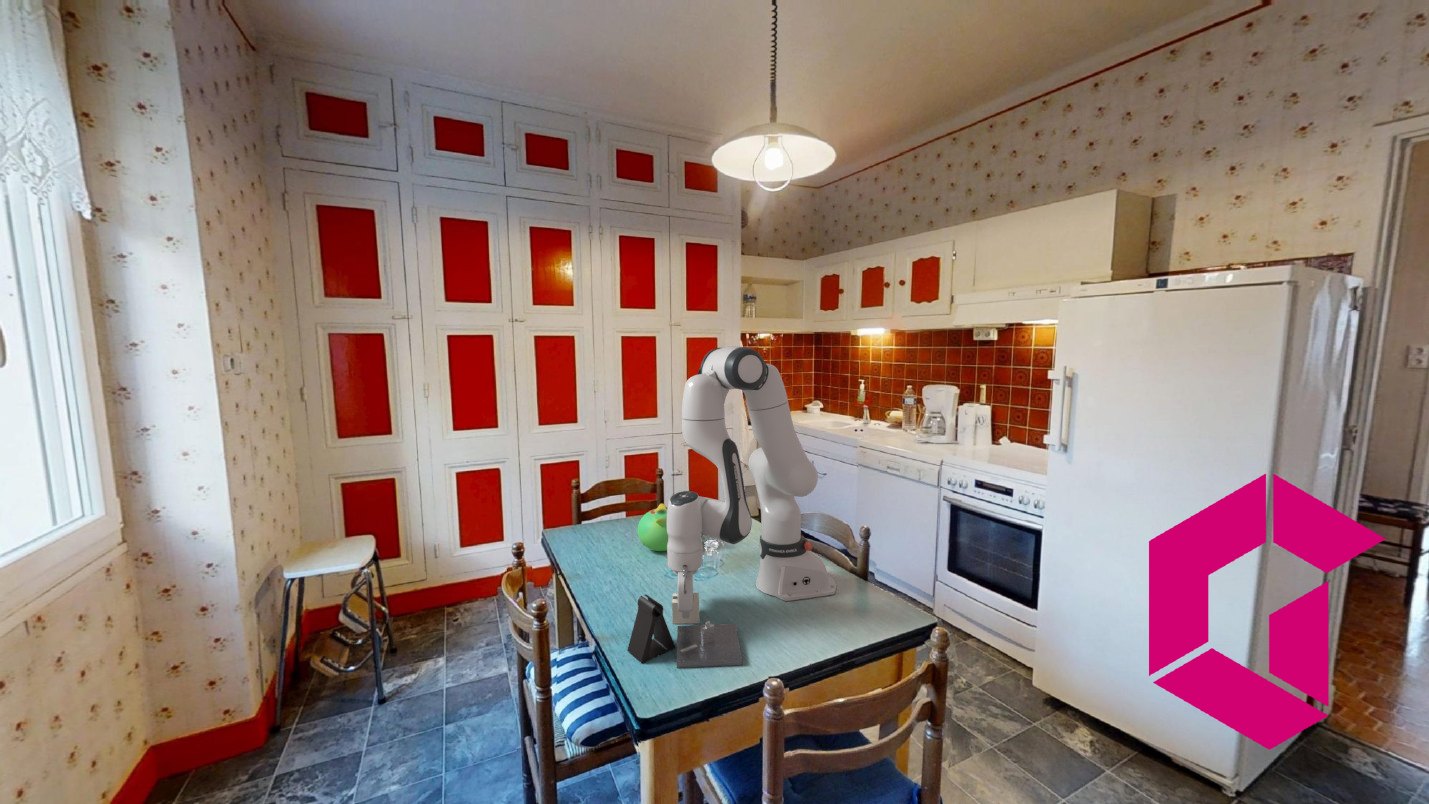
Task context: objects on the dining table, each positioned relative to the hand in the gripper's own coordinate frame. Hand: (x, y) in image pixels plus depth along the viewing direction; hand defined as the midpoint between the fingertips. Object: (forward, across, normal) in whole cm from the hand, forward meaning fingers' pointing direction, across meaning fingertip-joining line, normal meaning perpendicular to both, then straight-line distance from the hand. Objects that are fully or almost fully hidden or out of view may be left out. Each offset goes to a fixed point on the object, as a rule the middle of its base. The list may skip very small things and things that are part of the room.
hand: (685, 610), depth 130 cm
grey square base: (+2, -13, -5) cm, 14 cm away
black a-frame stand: (+2, -13, +8) cm, 15 cm away
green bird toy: (+2, +45, +7) cm, 46 cm away
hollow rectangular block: (+2, 0, 0) cm, 2 cm away
